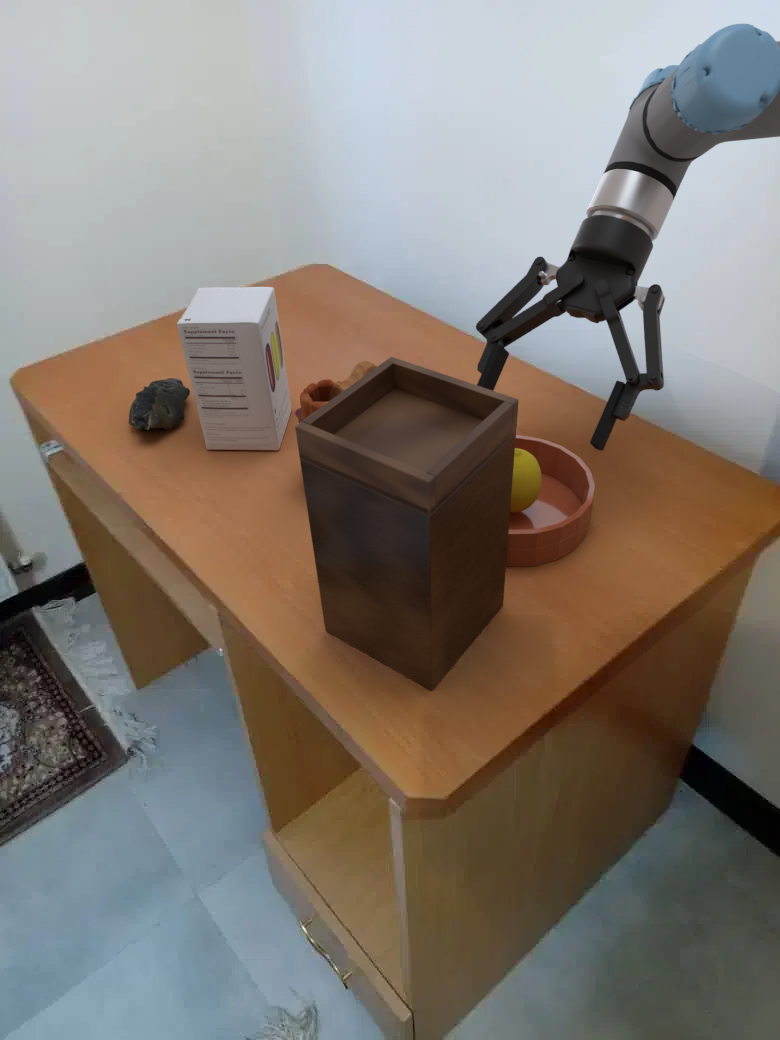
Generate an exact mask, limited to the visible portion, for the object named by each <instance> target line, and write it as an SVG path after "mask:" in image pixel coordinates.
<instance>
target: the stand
mask: <svg viewBox="0 0 780 1040" xmlns="http://www.w3.org/2000/svg"><path fill="white" fill-rule="evenodd" d="M516 435H517V431H516V432H515V433H514V434H513V435H512V436H511V437H510V438H509V439H508V440H507V441H506V442H505V443H504V444H503V445H502V446H501V447H500V448H499V449H498V450H497V451H496V452H495V453H494V454H493V455H492V456H491V457H489V458H488V459H487V460H486V461H485V462H484V463H483V464H482V465H481V466H480V467H479V468H478V469H477V470H476V471H475V472H474V473H473V474H472V475H471V476H470V477H469V478H468V479H467V480H466V481H465V482H464V483H463V484H462V485H461V486H460V487H458V488H457V489H456V490H455V491H454V492H453V493H452V494H451V495H450V496H449V497H448V498H447V499H446V500H445V501H444V502H443V503H442V504H441V505H440V506H439V507H438V508H437V509H436V510H435V511H434V512H433V513H432V514H431V515H427V514H425V513H422V512H420V511H418V510H415V509H413V508H411V507H409V506H406V505H404V504H402V503H400V502H397V501H395V500H393V499H391V498H388V497H386V496H384V495H381V494H379V493H377V492H375V491H372V490H370V489H368V488H366V487H363V486H361V485H359V484H357V483H354V482H352V481H350V480H348V479H345V478H343V477H341V476H338V475H336V474H334V473H332V472H329V471H327V470H325V469H323V468H320V467H318V466H316V465H314V464H311V463H309V462H307V461H304V460H302V459H300V458H299V463H300V469H301V470H300V471H301V476H302V483H303V489H304V496H305V503H306V504H305V505H306V508H307V509H306V510H307V516H308V524H309V529H310V530H309V531H310V536H311V544H312V551H313V557H314V564H315V569H316V576H317V584H318V589H319V590H318V591H319V597H320V603H321V610H322V611H321V612H322V617H323V623H324V630H325V632H327V633H328V634H330V635H332V636H333V637H335V638H338V639H339V640H341V641H342V642H344V643H346V644H348V645H349V646H352V647H353V648H355V649H356V650H358V651H360V652H361V653H364V654H365V655H367V656H369V657H371V658H372V659H374V660H376V661H378V662H379V663H381V664H383V665H385V666H387V667H388V668H390V669H391V670H394V671H395V672H397V673H399V674H400V675H402V676H405V677H406V678H408V679H409V680H411V681H413V682H415V683H417V684H418V685H420V686H422V687H424V688H425V689H427V690H429V691H432V692H433V691H434V690H435V688H436V687H437V686H438V685H439V683H440V682H441V681H442V680H443V679H444V677H445V676H446V675H447V674H448V673H449V671H450V670H451V669H452V668H453V667H454V665H455V664H456V663H457V662H458V661H459V659H460V658H461V657H462V655H464V653H465V652H466V651H467V650H468V648H469V647H470V646H471V645H472V644H473V643H474V642H475V640H476V639H477V638H478V636H479V635H481V633H482V632H483V630H484V629H485V628H486V627H487V626H488V625H489V623H490V622H491V621H492V620H493V619H494V617H496V615H497V614H498V613H499V611H500V610H501V609H502V608H503V607H504V599H505V585H506V572H507V571H506V570H507V566H506V560H507V547H508V533H509V520H510V507H511V493H512V480H513V467H514V453H515V440H516Z"/></svg>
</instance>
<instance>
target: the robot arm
mask: <svg viewBox="0 0 780 1040" xmlns="http://www.w3.org/2000/svg"><path fill="white" fill-rule="evenodd" d="M631 101H632V102H631V103H630V106H629V110H628V113H627V117H626V120H625V121H624V124H623V127H622V129H621V131H620V133H619V135H618V139H617V140H616V144H615V146H614V148H613V150H612V153H611V155H610V157H609V159H608V162H607V164H606V167H605V169H604V171H603V173H602V177H601V178H600V180H599V183H598V185H597V187H596V189H595V192H594V194H593V196H592V198H591V200H590V202H589V205H588V207H587V209H586V218H584V219H583V220H582V222H581V224H580V226H579V229H578V231H577V232H576V235H575V238H574V240H573V242H572V245H571V247H570V249H569V252H568V255H567V258H566V260H565V262H564V263H563V264H561V266H558V265H555V264H552V263H549V262H547V260H546V259H545V258H544V257H543V256H537V257H536V258H535V259H533V262H532V264H531V266H530V267H529V269H528V271H527V272H526V275H524V276H523V278H521V280H519V281H518V282H517V283H516V284H515V285H514V286H513V287H512V288H511V289H510V290H509V291H508V292H507V293H506V294H505V295H504V296H503V297H502V298H501V299H500V300H499V301H498V302H497V303H496V304H495V305H494V306H492V308H491V309H490V310H489V311H487V313H486V314H484V316H483V317H481V318H480V320H478V321H477V323H476V325H475V330H476V331H477V332H478V333H479V334H480V335H481V336H482V337H483V338H484V339H485V340H486V345H485V347H484V349H483V351H482V354H481V357H480V358H479V361H478V363H477V369H476V371H478V372H479V373H480V377H479V378H478V381H477V384H476V385H477V386H480V387H483V388H486V389H489V390H492V391H495V389H496V386H497V383H498V382H499V378H500V377H501V374H502V372H503V369H504V367H505V365H506V362H507V360H508V358H509V356H510V352H509V351H508V350H507V349H505V348H506V347H507V346H509V345H511V344H513V343H515V342H516V341H518V340H520V339H521V338H522V337H524V336H525V335H527V334H528V333H531V332H532V331H533V330H535V329H537V328H538V327H540V326H541V325H543V324H546V323H547V322H548V321H549V320H551V319H553V318H557V317H560V316H562V315H563V314H566V313H567V314H569V316H570V317H573V318H577V319H586V320H587V321H589V322H591V323H595V324H599V323H601V322H605V321H606V323H607V326H608V329H609V333H610V335H611V338H612V341H613V344H614V347H615V350H616V353H617V356H618V359H619V362H620V365H621V369H622V372H623V374H624V377H625V378H624V379H625V380H626V382H623V381H620V380H616V381H615V383H614V385H613V388H612V390H611V393H610V394H609V395H610V396H609V398H608V400H607V402H606V404H605V407H604V409H603V411H602V413H601V416H600V418H599V420H598V422H597V424H596V426H595V429H594V431H593V434H592V436H591V438H590V440H589V444H590V445H591V446H592V447H593V448H594V449H595V450H597V451H600V452H604V449H605V447H606V445H607V443H608V440H609V438H610V436H611V433H612V431H613V429H614V427H615V424H616V422H617V420H620V421H623V422H625V421H626V420H627V419H628V418H629V417H630V414H631V413H632V410H633V408H634V405H635V403H636V402H637V399H638V397H639V395H640V393H641V392H642V391H646V390H653V391H655V392H656V391H661V390H662V389H663V388H664V386H665V379H664V378H665V377H664V364H663V363H664V362H663V350H662V349H663V348H662V333H661V314H662V311H663V307H664V303H665V301H666V300H665V299H666V297H665V294H664V292H663V289H662V286H660V284H657V283H654V284H651V286H649V287H646V286H638V283H639V280H640V278H641V276H642V274H643V271H644V269H645V267H646V265H647V263H648V260H649V258H650V255H651V253H652V251H653V248H654V243H653V242H654V241H655V240H656V239H658V236H659V235H660V231H661V230H662V228H663V225H664V223H665V221H666V218H667V216H668V214H669V213H670V212H669V211H670V209H671V207H672V205H673V203H674V200H675V198H676V196H677V193H678V191H679V189H680V187H681V184H682V183H683V179H684V177H685V175H686V173H687V171H688V169H689V168H690V165H691V164H692V162H694V160H696V159H698V158H700V157H701V156H703V155H704V154H706V153H707V152H709V151H710V150H712V149H713V148H714V147H716V146H717V145H719V144H722V143H727V142H739V141H748V140H758V139H769V138H770V139H771V138H779V137H780V40H779V41H778V40H776V39H775V38H774V37H773V35H771V33H769V32H768V31H765V30H762V29H760V28H758V27H756V26H754V25H753V24H750V23H735V24H730V25H727V26H724V27H722V28H721V29H719V30H717V31H716V32H714V33H713V34H711V35H710V36H709V37H708V38H707V39H706V40H704V41H703V42H702V43H701V44H698V45H696V46H695V47H694V48H693V49H692V50H691V51H689V52H688V54H686V55H685V57H684V58H682V60H681V62H680V63H679V64H670V65H667V66H666V67H664V68H662V67H659V68H658V67H657V68H655V69H654V70H652V71H651V72H650V73H648V75H647V76H646V77H645V79H644V80H643V83H642V85H641V87H640V88H639V91H638V93H637V95H636V97H633V100H631ZM554 280H555V281H556V285H557V286H556V287H554V288H553V289H552V290H550V291H548V292H547V293H545V294H544V295H543V297H542V299H540V300H539V301H537V302H536V303H534V304H532V305H531V306H529V307H527V308H526V309H524V310H523V308H524V307H525V306H527V305H528V303H529V302H531V301H532V300H533V299H534V298H535V297H536V296H537V295H538V293H540V291H542V289H543V288H544V286H549V285H550V283H551V282H552V281H554ZM635 300H636V301H637V304H638V306H639V309H640V310H641V311H642V319H643V320H642V321H643V322H642V323H643V336H644V352H645V353H644V354H645V367H646V372H643V373H641V372H640V369H639V366H638V364H637V360H636V358H635V354H634V352H633V348H632V345H631V343H630V340H629V337H628V334H627V331H626V328H625V323H624V321H623V318H622V315H621V312H620V311H621V310H623V309H624V308H626V307H627V306H629V305H630V304H631V303H633V302H634V301H635ZM521 310H522V311H521ZM520 311H521V312H520Z"/></svg>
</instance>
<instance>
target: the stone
mask: <svg viewBox="0 0 780 1040" xmlns="http://www.w3.org/2000/svg"><path fill="white" fill-rule="evenodd" d="M190 395H191V390H190V388H189V387H186V386H185V385H184V383H183V381H182V380H181V379H179V378H175V377H168V378H166V379H158V380H154V381H151V382H150V383H149V385H148V386H144V387H143V389H142V390H140V391H138V392H135V399H134V400H133V401H132V403H131V405H130V408H129V413H128V424H129V425H130V426H132V427H133V428H135V429H136V430H138V431H144V430H146V431H149V430H153V429H165V430H166V431H168V430H170V429H173V428H175V427H177V426H178V425H179V424H180V423H181V422H182V421H183V420H184V419H185V413H184V407H185V401H186V400H187V399H188V398H189V396H190Z"/></svg>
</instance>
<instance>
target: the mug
mask: <svg viewBox="0 0 780 1040" xmlns="http://www.w3.org/2000/svg"><path fill="white" fill-rule="evenodd" d="M377 366H378V365H376V364H375V363H374V362H371V361H368V360H361V361H360V362H358V363H357V364H356V365H355V367H354V368H353V370H352V371H351V373H350V375H349V376H348V377H347V378H346V379H344V380H343V381H340V380H339V381H336V382H335V381H333V380H332V379H321V380H319V381H318V382H317V383H314V382H312V383H311V382H310V383H309V384H308V385H307V386H306V388H304V389H303V391H301V393H300V395H299V403H300V407H299V408H297V409H296V410H295V411H294V414H295V417H296V418H297V421H298V424H299V423H300V422H302V421H303V420H304V419H306V418H307V417H308V416H310V415H311V414H312V413H314V412H315V411H317V410H318V409H319V408H321V407H322V406H324V405H325V404H326V403H328V402H329V401H330V400H332V399H333V398H335V397H336V396H337V395H339V394H340V393H341V392H343V391H344V390H346V389H347V388H348V387H350V386H351V385H353V384H354V383H355V382H357V381H358V380H359V379H361V378H362V377H364V376H365V375H366V374H368V373H369V372H371V371H372V370H373V369H375V368H376V367H377Z"/></svg>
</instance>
